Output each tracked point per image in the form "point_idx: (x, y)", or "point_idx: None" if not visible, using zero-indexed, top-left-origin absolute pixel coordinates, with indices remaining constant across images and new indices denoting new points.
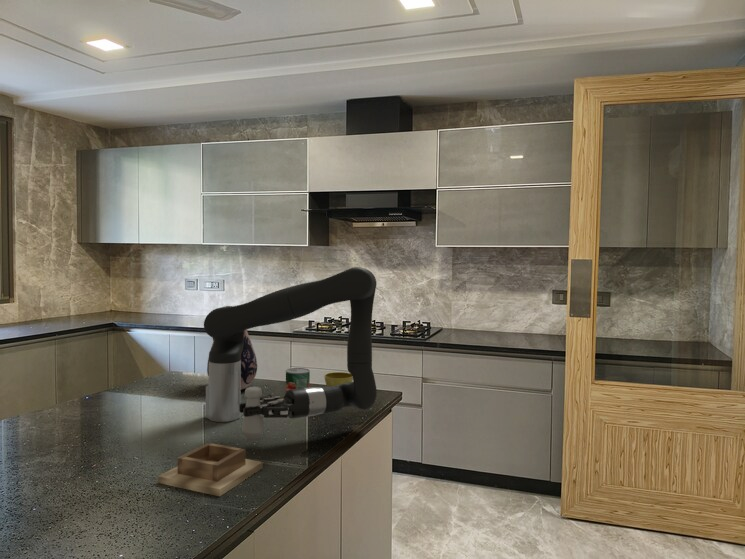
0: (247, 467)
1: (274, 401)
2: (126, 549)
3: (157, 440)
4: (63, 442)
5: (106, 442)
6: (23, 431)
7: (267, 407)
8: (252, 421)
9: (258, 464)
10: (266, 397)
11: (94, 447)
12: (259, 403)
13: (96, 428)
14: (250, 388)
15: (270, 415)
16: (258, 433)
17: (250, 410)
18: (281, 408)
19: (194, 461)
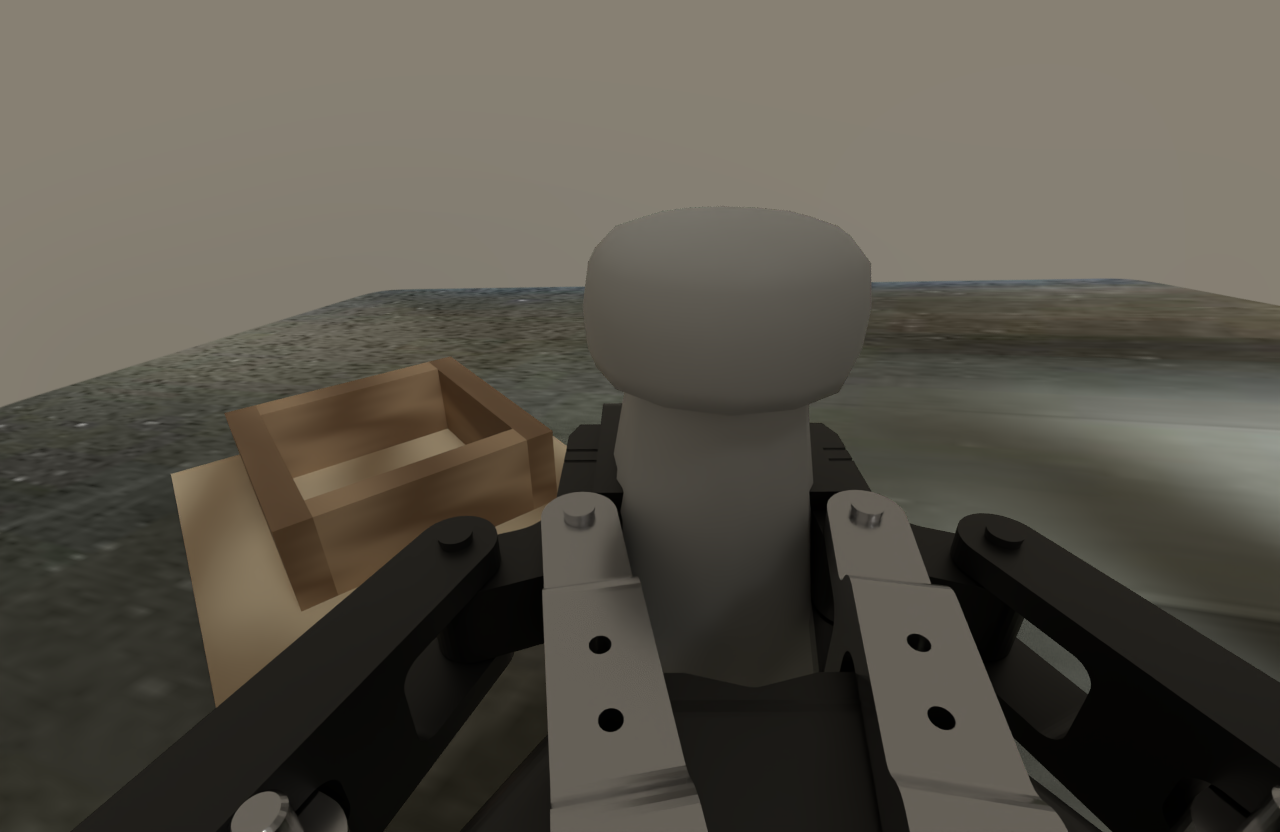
0: (246, 608)
1: (616, 700)
2: (186, 353)
3: (949, 439)
4: (937, 318)
5: (931, 360)
6: (1033, 289)
7: (443, 553)
8: None
9: (213, 677)
10: (1229, 738)
11: (883, 346)
12: (653, 490)
13: (1092, 352)
14: (696, 208)
15: (413, 678)
16: None
17: (570, 449)
18: (168, 759)
19: (363, 379)
